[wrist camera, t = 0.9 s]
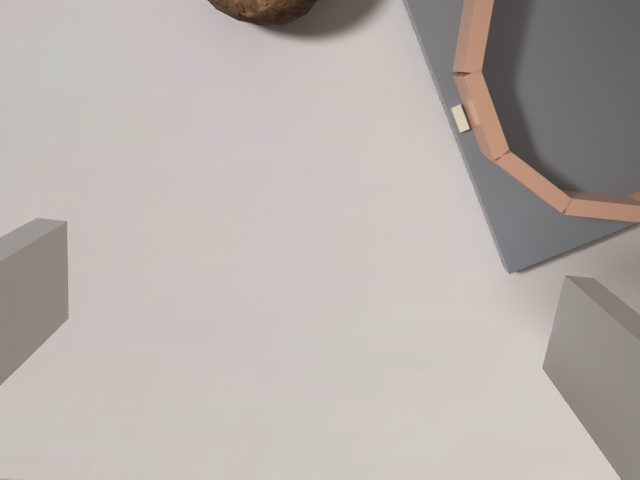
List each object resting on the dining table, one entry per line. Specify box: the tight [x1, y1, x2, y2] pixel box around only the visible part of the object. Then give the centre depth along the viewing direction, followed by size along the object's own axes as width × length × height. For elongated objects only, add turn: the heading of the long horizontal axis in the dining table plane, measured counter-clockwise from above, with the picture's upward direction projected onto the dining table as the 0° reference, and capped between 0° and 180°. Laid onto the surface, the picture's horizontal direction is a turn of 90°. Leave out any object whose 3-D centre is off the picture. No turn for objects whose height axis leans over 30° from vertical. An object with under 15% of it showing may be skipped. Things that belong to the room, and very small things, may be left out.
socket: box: [403, 0, 640, 274], centre depth 34 cm, size 22×22×4 cm
